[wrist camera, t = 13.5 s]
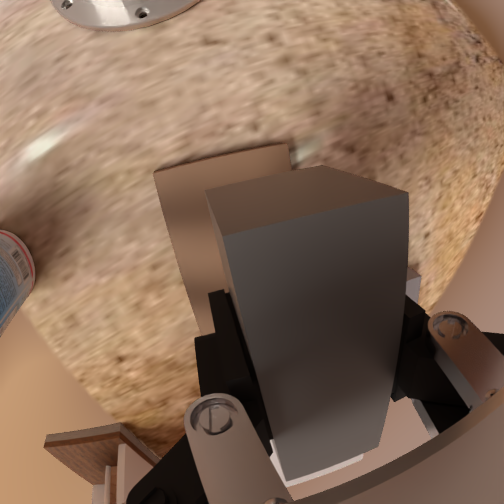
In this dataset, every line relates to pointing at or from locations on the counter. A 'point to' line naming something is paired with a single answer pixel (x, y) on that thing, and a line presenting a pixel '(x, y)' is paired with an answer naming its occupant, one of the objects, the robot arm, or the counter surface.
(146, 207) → the counter surface
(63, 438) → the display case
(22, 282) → the pill bottle
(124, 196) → the counter surface
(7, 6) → the counter surface
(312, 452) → the stepped grey white block
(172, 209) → the rest
